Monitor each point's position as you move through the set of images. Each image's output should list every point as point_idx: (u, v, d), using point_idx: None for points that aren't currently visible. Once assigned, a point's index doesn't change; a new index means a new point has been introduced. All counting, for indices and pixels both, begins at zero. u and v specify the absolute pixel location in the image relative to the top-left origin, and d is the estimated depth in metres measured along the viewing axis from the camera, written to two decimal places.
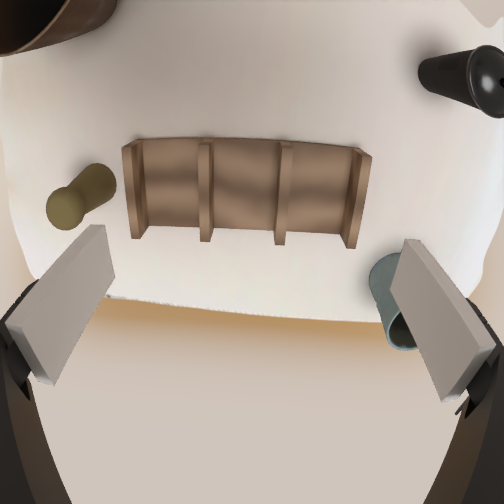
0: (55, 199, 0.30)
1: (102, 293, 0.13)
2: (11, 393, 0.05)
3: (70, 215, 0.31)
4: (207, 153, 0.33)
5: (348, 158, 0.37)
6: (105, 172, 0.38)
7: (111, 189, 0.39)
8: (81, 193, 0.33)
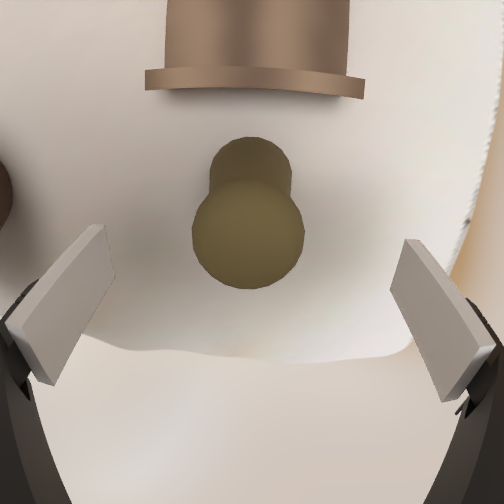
0: (206, 252, 0.13)
1: (103, 293, 0.13)
2: (11, 393, 0.05)
3: (254, 214, 0.13)
4: None
5: None
6: (223, 151, 0.21)
7: (259, 143, 0.20)
8: None
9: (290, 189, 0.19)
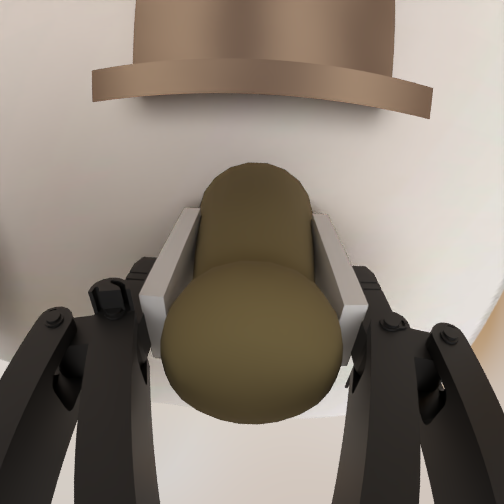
0: (182, 390, 0.08)
1: None
2: (135, 378, 0.07)
3: (263, 348, 0.07)
4: None
5: None
6: (217, 184, 0.15)
7: (268, 174, 0.14)
8: (214, 266, 0.10)
9: (313, 246, 0.13)
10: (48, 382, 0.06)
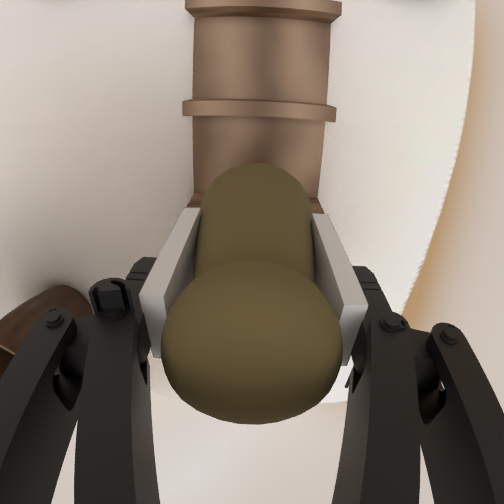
0: (183, 390, 0.08)
1: None
2: (135, 378, 0.07)
3: (264, 348, 0.07)
4: None
5: (209, 21, 0.22)
6: (217, 185, 0.15)
7: (268, 174, 0.14)
8: (214, 267, 0.10)
9: (313, 246, 0.13)
10: (48, 382, 0.06)
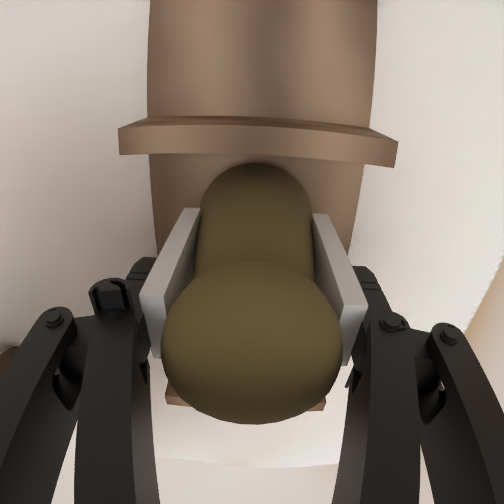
0: (183, 390, 0.08)
1: None
2: (135, 378, 0.07)
3: (263, 348, 0.07)
4: None
5: None
6: (217, 185, 0.15)
7: (268, 174, 0.14)
8: (214, 266, 0.10)
9: (313, 246, 0.13)
10: (48, 382, 0.06)
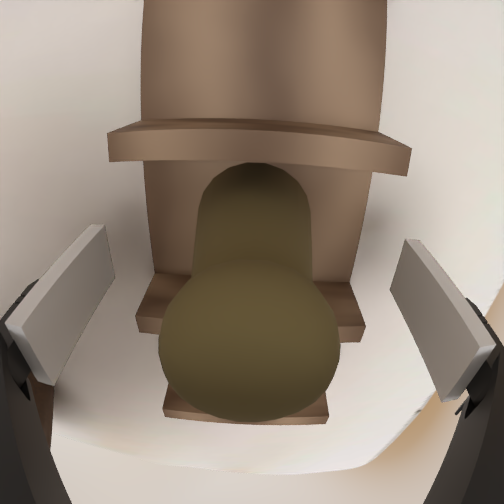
0: (180, 387, 0.08)
1: (103, 293, 0.13)
2: (11, 393, 0.05)
3: (260, 345, 0.07)
4: (152, 319, 0.15)
5: None
6: (216, 184, 0.15)
7: (267, 174, 0.14)
8: (212, 265, 0.10)
9: (311, 245, 0.13)
10: None
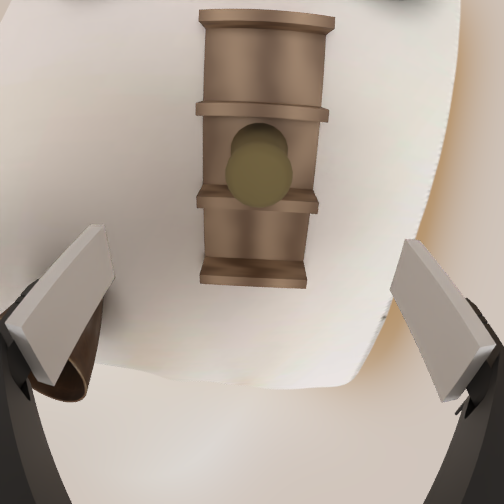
0: (234, 180, 0.23)
1: (102, 293, 0.13)
2: (11, 393, 0.05)
3: (263, 157, 0.22)
4: (205, 198, 0.30)
5: (218, 31, 0.25)
6: (241, 131, 0.30)
7: (265, 126, 0.29)
8: None
9: (286, 155, 0.28)
10: None
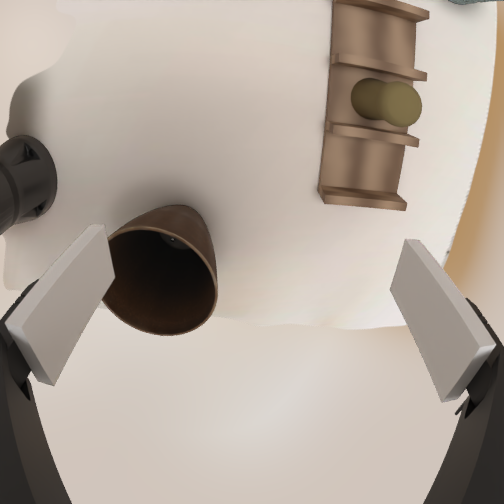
0: (390, 103, 0.27)
1: (103, 293, 0.13)
2: (11, 393, 0.05)
3: (408, 90, 0.26)
4: (341, 126, 0.35)
5: (344, 6, 0.30)
6: (362, 81, 0.34)
7: None
8: None
9: None
10: None
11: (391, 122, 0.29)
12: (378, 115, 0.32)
